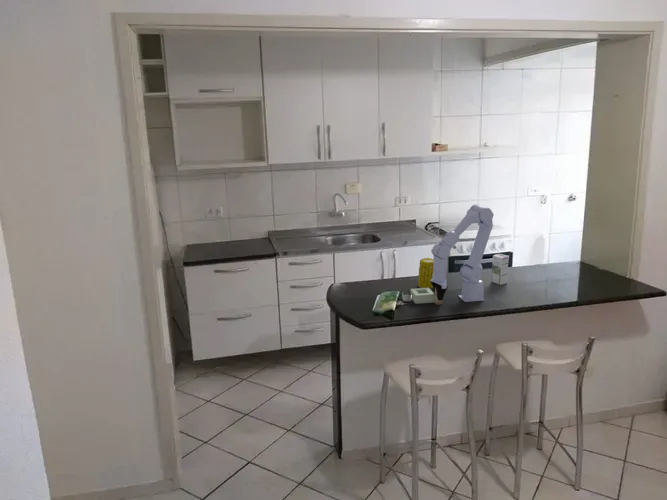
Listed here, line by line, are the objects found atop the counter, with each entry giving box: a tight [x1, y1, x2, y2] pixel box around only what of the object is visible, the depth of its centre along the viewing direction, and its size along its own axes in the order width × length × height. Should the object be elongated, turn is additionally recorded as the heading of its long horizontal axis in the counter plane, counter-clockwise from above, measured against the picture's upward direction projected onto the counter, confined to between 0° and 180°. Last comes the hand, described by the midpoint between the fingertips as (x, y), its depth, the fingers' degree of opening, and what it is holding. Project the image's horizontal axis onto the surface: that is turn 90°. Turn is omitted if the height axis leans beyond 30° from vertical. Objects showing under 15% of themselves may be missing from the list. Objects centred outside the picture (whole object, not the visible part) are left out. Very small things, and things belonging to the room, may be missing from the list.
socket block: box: [409, 287, 435, 305], centre depth 248 cm, size 9×9×4 cm
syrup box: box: [490, 253, 510, 286], centre depth 267 cm, size 6×6×14 cm
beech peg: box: [434, 288, 444, 306], centre depth 243 cm, size 4×4×8 cm
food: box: [417, 257, 434, 290], centre depth 264 cm, size 15×12×10 cm
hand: (438, 298), depth 243 cm, fingers open, 4 cm apart
